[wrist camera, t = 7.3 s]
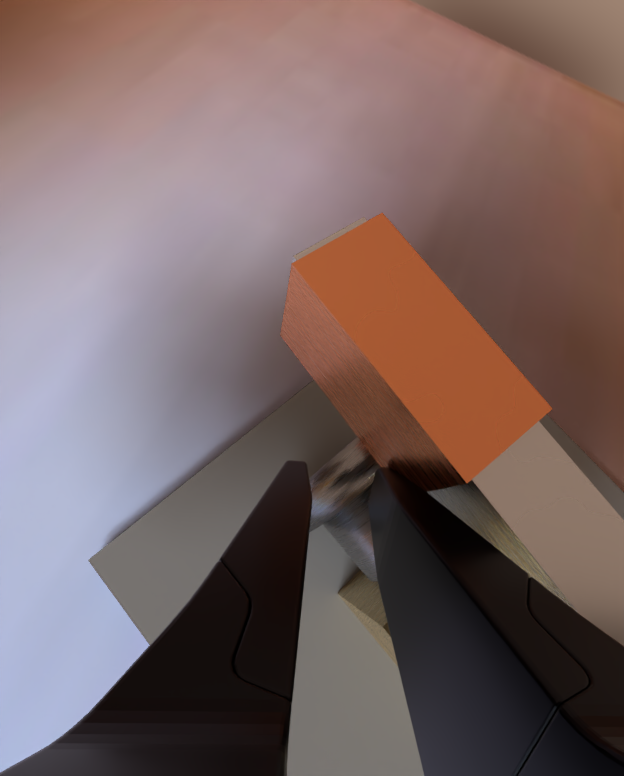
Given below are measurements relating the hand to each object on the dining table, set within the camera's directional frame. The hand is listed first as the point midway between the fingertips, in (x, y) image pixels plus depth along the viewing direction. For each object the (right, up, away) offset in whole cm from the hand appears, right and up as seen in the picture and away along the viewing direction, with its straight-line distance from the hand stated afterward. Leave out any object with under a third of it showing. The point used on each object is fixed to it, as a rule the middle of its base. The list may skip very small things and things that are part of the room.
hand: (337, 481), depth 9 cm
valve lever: (+3, 0, 0) cm, 3 cm away
